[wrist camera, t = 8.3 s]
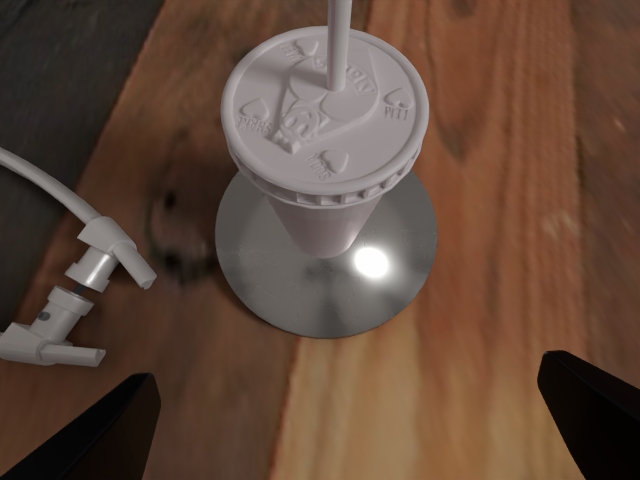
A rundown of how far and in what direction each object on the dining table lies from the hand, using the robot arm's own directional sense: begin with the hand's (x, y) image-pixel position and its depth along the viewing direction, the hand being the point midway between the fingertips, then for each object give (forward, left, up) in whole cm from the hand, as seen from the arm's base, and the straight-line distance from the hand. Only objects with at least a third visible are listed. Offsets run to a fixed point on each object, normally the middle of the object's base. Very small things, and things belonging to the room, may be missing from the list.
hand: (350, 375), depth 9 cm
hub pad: (+4, +7, -10) cm, 13 cm away
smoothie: (+4, +7, -10) cm, 12 cm away
